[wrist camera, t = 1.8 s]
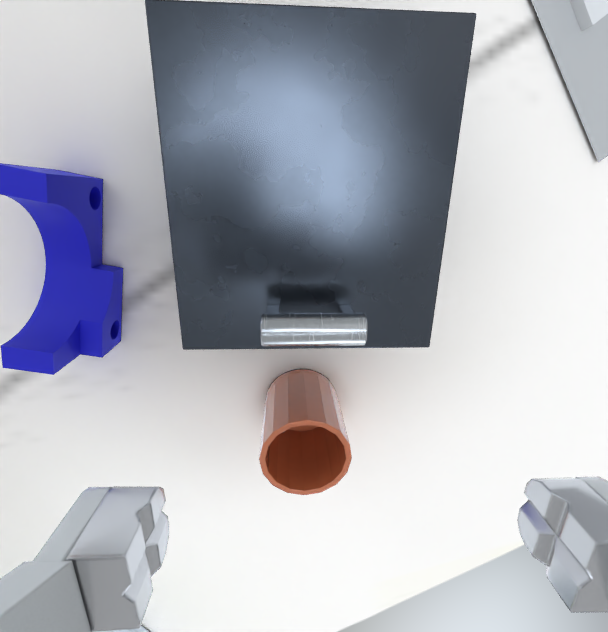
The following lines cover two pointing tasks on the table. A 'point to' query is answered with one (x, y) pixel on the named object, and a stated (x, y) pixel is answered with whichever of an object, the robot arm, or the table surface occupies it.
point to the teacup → (303, 434)
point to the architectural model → (581, 59)
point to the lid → (307, 168)
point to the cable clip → (65, 271)
